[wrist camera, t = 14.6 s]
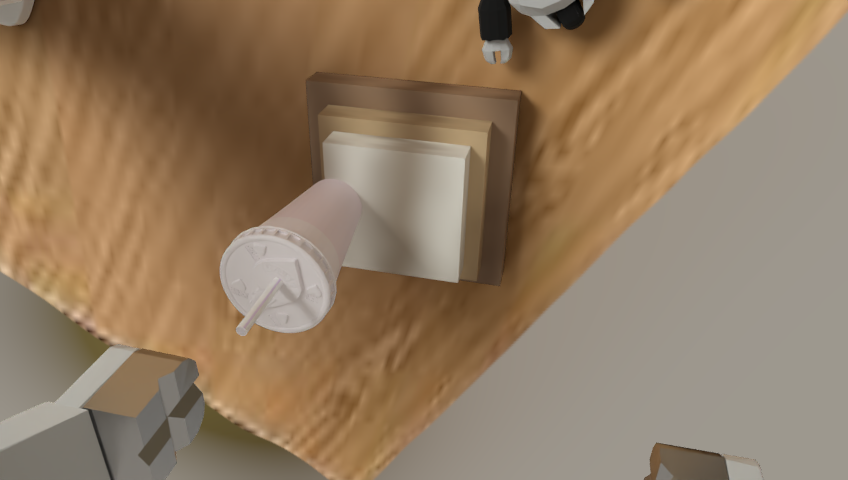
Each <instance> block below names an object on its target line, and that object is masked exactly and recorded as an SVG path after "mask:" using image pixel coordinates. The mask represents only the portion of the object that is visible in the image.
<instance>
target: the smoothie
mask: <svg viewBox="0 0 848 480" xmlns="http://www.w3.org/2000/svg"><path fill="white" fill-rule="evenodd" d="M361 213H362V204H361V201H360V198H359V196H358V194H357V193H356V191H355V190H354V189H353V188H352V187H351V186H349V185H348V184H346V183H345V182H343V181H340V180H337V179H324V180H321V181H319V182H317V183H316V184H314V185H313V186H312V187H310V188H309V189H308V190H306V191H305V192H304V193H302V194H301V195H300V196H298V197H297V198H296V199H294V200H293V201H292V202H290V203H289V204H288V205H287V206H285V207H284V208H283V209H281V210H280V211H279V212H277V213H276V214H275V215H273V216H272V217H271V218H269V219H268V220H267V221H265V222H264V223H262V224H261V225H260V226H259V227H253V228H250V229H248V230H246V231H244V232H241V233H240V234H239V235H238V236H237V237H236V238H235V239H234V240H233V241H232V243H231V245H230V246H229V247H228V248H227V249H226V251H225V252H224V254H223V256H222V259H221V263H220V279H221V283H222V286H223V289H224V291H225V293H226V295H227V297H228V298H229V300H230V301H231V303H232V304H233V305H234V306H235V307H236V309H237V310H238V311H239V312H240V313H242V314H243V315H244V316H245V317H244V319H243V320H242V321H241V322H240V324H239V325H238V326H237V328H236V332H237V333H238V334H239V335H241V336H245V335H246V334H247V333H248V331H249V330H250V329H251V327H252V326H253V325H254V323H255V324H257V325H259V326H261V327H264V328H266V329H269V330H272V331H276V332H282V333H298V332H303V331H306V330H309V329H311V328H313V327H315V326H316V325H317V324H319V323H320V322H321V321H322V319H323V318H324V317H325V315H326V314H327V313H328V311H329V310H330V308H331V307H332V305H333V304H334V300H335V296H336V293H337V289H336V281H337V278H338V275H339V272H340V270H341V267H342V264H343V262H344V259H345V256H346V254H347V251H348V248H349V246H350V243H351V240H352V238H353V235H354V232H355V230H356V227H357V224H358V222H359V219H360V216H361Z"/></svg>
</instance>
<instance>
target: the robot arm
mask: <svg viewBox="0 0 848 480" xmlns="http://www.w3.org/2000/svg"><path fill="white" fill-rule="evenodd" d="M33 4H34V0H0V24H2V25H6V26H14V25H21V24H24V23H25V22H26V21H27V20H28V18H29V16H30V13H31V11H32V7H33ZM198 376H199V373H198V369H197V365H196V361H194V360H192V359H189V358H185V357H180V356H176V355H171V354H166V353H161V352H157V351H152V350H147V349H140V348H135V347H130V346H125V345H121V344H117V345H115V346H112V347H110V348H109V349H108V350H107V351H106V352H105V353H104V354H103V355H102V356H101V357H100V358H99V359H98V360H97V361H96V362H95V363H94V364H93V365H92V366H91V367H90V368H89V369H88V370H87V371H86V372H85V373H84V374H83V375H82V376H81V377H80V378H79V379H78V380H77V381H76V382H75V383H74V384H73V385H72V386H71V387H70V388H69V389H68V390H67V391H66V392H65V393H64V394H63V395H62V396H61V397H60V398H59V399H58V400H57V401H56V402H55V403H51V402H45V403H42V404H40V405H38V406H36V407H33V408H31V409H29V410H26V411H24V412H22V413H19V414H17V415H15V416H13V417H10V418H8V419H6V420H3V421H1V422H0V480H165V479H166V478H167V476H168V475H169V473H170V472H171V471H172V469H173V468H174V466H175V465H176V463H177V459H176V451H178V450H180V449H181V448H183V447H185V446H187V445H189V444H190V443H191V442H192V440H193V439H194V437H195V436H196V434H197V433H198V431H199V428H200V425H201V422H202V419H203V416H204V404H205V403H204V398H203V393H202V392H201V391H200V390H199V389H198V387H197V386H196V385H195V384H194V383H193V382H194V381H195V380H196V378H197V377H198ZM650 470H651V474H650V475H648V476H647V477H645V478H644V480H763V476H762V472H761V468H760V465H759V464H758V462H757V461H756V460H754V459H749V458H742V457H737V456H731V455H725V454H721V455H720V454H718V453H713V452H707V451H702V450H696V449H690V448H684V447H678V446H673V445H667V444H661V443H656V444H655V446H654V447H653V450H652V453H651V457H650Z"/></svg>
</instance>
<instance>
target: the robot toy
mask: <svg viewBox="0 0 848 480" xmlns="http://www.w3.org/2000/svg"><path fill="white" fill-rule="evenodd" d="M593 3H594V0H583V7H584V11H583V8H582V6H581V4H580V2H579V0H509V1H508V0H481V1H480V4H479V7H478V13H479V24H480V35H481V39H482V40H486V41H485V43H484V46H483V48H482V52H483V55H484V58H485V60H486V61H487V62H489V63H490V64H496V58H495V51H501V63H506V62H507V61H508V60H509V59H511V56H512V50H513V47H512V45H511V43H510V41H509V40H508V38H509V37H510V36H511V35H512V21H511V5H512V6H513V7H514V8H515V9H516V10H518V11H519V12H520V13H521V14H524V15H528V16H531V17H532V18H533V19H534V20H535V21H536V22H538V23H539V24H540V25H541V26H542V27H543V28H544V29H559V28H560V27H561V24H562V25H563V26H564V27H565V28H566V29H568V30H571V29H575V28H577V27H579V26H580V25H581V24H582V23H583V22H584V20H585V14H586V12H587V11H588V10H589V8H590V7H591V6H592V4H593ZM510 4H511V5H510Z"/></svg>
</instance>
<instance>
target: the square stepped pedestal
mask: <svg viewBox="0 0 848 480" xmlns="http://www.w3.org/2000/svg"><path fill="white" fill-rule="evenodd" d="M306 92H307V106H308V120H309V134H310V148H311V162H312V176H313V185H314V184H316V183H317V182H319V181H321V180H324V179H337V180H340V181H343V182H345V183H346V184H348V185H349V186H351V187H352V188H353V189H354V190H355V191H356V193H357V194H358V196H359V198H360V201H361V204H362V213H361V216H360V219H359V222H358V224H357V227H356V230H355V232H354V235H353V238H352V240H351V243H350V246H349V248H348V251H347V254H346V256H345V259H344V262H343V264H342V266H345V267H352V268H359V269H366V270H373V271H379V272H386V273H393V274H400V275H407V276H413V277H420V278H427V279H434V280H441V281H447V282H454V283H458V282H459V280H462V281H469V282H476V283H482V284H489V285H496V286H500V284H501V279H502V275H503V270H504V260H505V250H506V240H507V230H508V220H509V210H510V200H511V190H512V179H513V169H514V159H515V149H516V139H517V129H518V119H519V109H520V99H521V91H518V90H507V89H496V88H485V87H474V86H463V85H453V84H442V83H431V82H420V81H409V80H398V79H387V78H376V77H366V76H355V75H344V74H333V73H322V72H316V73H315V74H313V75H312V76H311V77H310V78H308V79H307V80H306Z"/></svg>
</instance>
